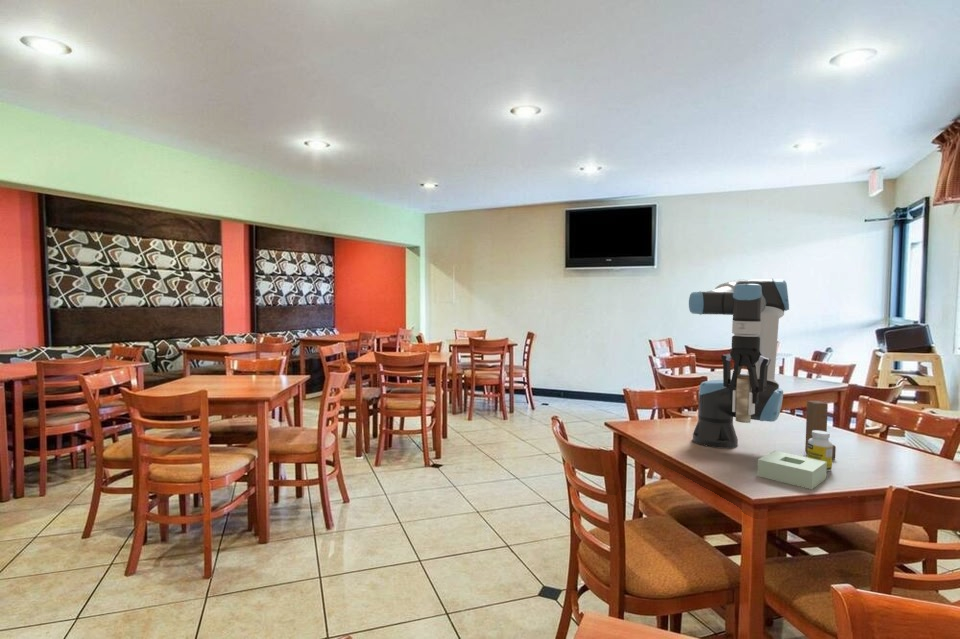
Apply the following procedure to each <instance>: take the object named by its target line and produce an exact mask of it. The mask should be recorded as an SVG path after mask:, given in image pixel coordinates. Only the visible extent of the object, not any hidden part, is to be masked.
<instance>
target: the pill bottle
mask: <svg viewBox="0 0 960 639" xmlns="http://www.w3.org/2000/svg"><path fill="white" fill-rule="evenodd" d="M830 434H831V433H830V432H828V431H827V432H825V431H818V430H813V431H812V436H813V437H812V438H810V439H809V440H808V450H807V452H806V453H807V455H806V457H807V458H811V459H816V460H821V461H826V462H827V470H826V472H829V471H831V470H832V467H833V466H832V465H833V459H832V451H833V445H834V444H833V443H832V441H831V440H829V439H830Z"/></svg>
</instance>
